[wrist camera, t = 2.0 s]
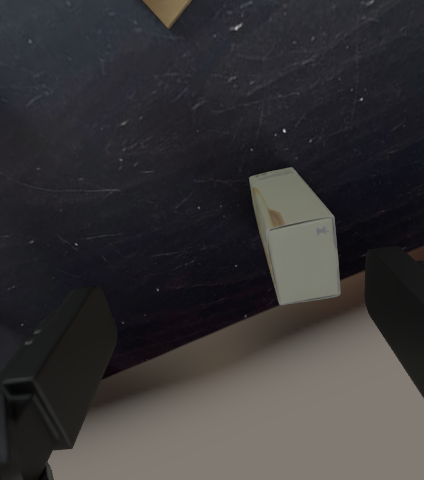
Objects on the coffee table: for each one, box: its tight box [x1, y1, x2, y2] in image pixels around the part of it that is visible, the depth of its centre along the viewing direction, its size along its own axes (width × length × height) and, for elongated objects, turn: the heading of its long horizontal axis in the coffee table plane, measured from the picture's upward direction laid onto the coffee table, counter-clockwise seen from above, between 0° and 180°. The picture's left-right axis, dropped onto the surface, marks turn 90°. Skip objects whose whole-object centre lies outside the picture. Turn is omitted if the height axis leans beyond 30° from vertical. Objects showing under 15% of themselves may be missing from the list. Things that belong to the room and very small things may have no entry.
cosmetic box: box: [249, 167, 340, 305], centre depth 26 cm, size 6×4×12 cm
